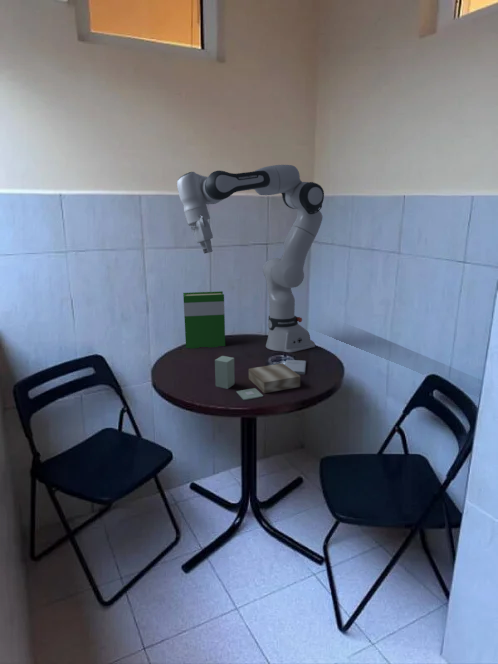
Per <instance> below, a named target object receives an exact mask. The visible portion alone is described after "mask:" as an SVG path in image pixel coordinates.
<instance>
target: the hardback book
mask: <svg viewBox="0 0 498 664" xmlns="http://www.w3.org/2000/svg"><path fill="white" fill-rule="evenodd" d="M182 293H183V294H182V295H183V296H182V297H183V312H184V313H183V314H184V316H183V318H184V332H185V333H184V335H185V348H190V349H200V348H199V347H208V348H219V347H218V346H225V347H226V324H225V323H226V322H225V321H226V319H225V317H226V316H225V294H224V293H223V291H222V290H221V291H220V290H219V291H202V292H201V291H199V292H198V291H197V292H196V291H195V292H194V291H193V292H182Z"/></svg>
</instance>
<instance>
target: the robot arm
mask: <svg viewBox="0 0 498 664" xmlns="http://www.w3.org/2000/svg"><path fill="white" fill-rule="evenodd" d="M176 185H177V186H176V187H177V193H178V195H179V199H180V203H181V204H182V206H183V214H184V217H185V219H186V222H187V226H189V227H190V229H191V232H192V235H193V238H194V240H195V242H196V244H200V247H201V249H202V251H203V253H204V254H209V253H212V252H213V248H212V242H211V239H213V238H214V237H213V232H212V229H211V227H210V223H209V221H208V220H210V219H211V217H210V213H209V208H208V206H207V205H216V204H218V203H220V202H221V201H223V200H226V199H227V198H229V197H231V196H232V195H233V194H235V193H237V192H245V191H250V190H254V191H255V192H256V194H258V195H259V196H273V195H279V194H281V196H282V202H283V203H284V205H285V206H286V207H288V208H290V209H293V210H297V211H296V212H297V213H296V219H295V220H294V222H293V224H292V226H291V228H290V229H289V231H288V233H287V235H286V237H285V239H284V242H283V253H282V255H281V258H278V257H277V258H270V259H268V260H267V261H265V263H264V264H263V267H262V272H263V276H264V277H265V282H266V287H267V291H268V298H269V299H268V301H269V315H268V319H267V320H268V323H267V325H268V334H267V335H268V336H267V340H266V344H265V347H266V348H267V349H268V350H271V351H276V352H285V353H295V352H299V351H304V350H307V349H310V348H311V349H312V348H315V347H316V343H315V342H314V341H313V340H311V336H310V333H309V331H308V330H307V329H306V328H304V327H303V326H302V325H301V324H299V323H301V322H302V321H303V318H302V317H301V316H297V315H295V309H296V307H295V306H296V304H295V303H296V300H295V296H294V294H293V291H292V288H293V289H294V288H296V287H299V286H301V284H302V283H303V281H304V278H305V271H304V267H305V262H306V258H307V256H308V253H309V251H310V249H311V246H312V244H313V243H314V241H315V239H316V236H317V235H318V232H319V230H320V227H321V224H322V221H323V214H322V212H321V211H320V210H321V209H322V208H323V203H324V199H325V191H324V188H323V187H322V186H321V185H320V184H318V183H316V182H314V181H302V180H301V175H300V172H299V170H298V168H297V167H296V166H294V165H292V164H274V165H273V164H272V165H267V166H263V167H261V168H258V169H256V170H254V171H245V172H241V173H239V172H238V173H232V172H227V171H224V170H215V171H212V172H211V173H210V174H208V176H205V175H201V174H199V173H196V172H195V171H190V172H186V173H184V174H183V175H181V176H180V177H178V179H177V181H176Z"/></svg>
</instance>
